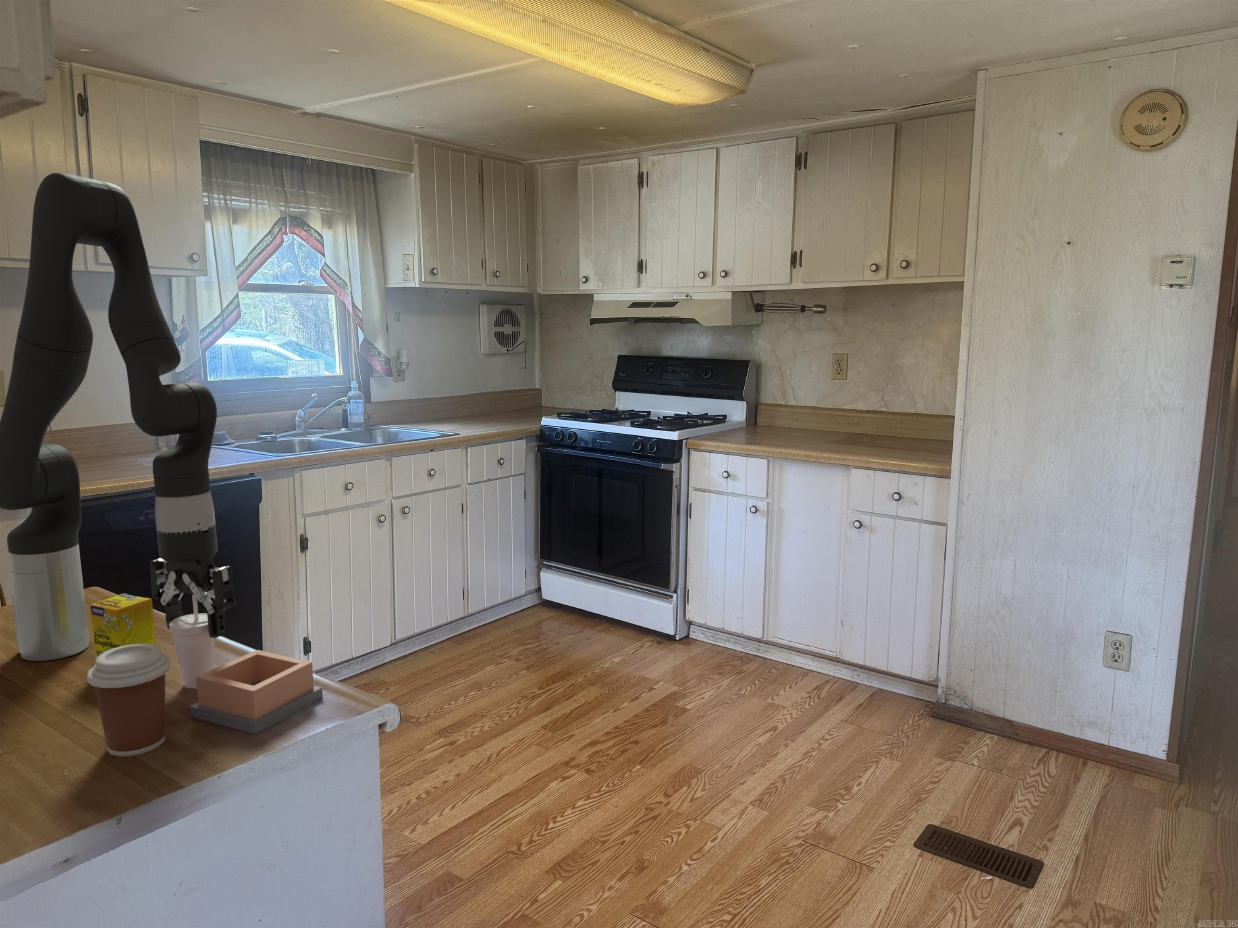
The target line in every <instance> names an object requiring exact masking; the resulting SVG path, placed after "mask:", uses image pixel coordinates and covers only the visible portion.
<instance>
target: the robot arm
mask: <svg viewBox="0 0 1238 928" xmlns="http://www.w3.org/2000/svg"><path fill="white" fill-rule="evenodd" d="M78 244H80V245H85V246H86V245H87V246H95V247H102V249H103V250H104V252H105V253H106V255H107V257H108V258H109V260H110V263H111V265H112V268H113V273H114V276H113V277H114V278H113V279H114V280H113V286H112V290H111V294H110V299H109V302H108V313H107V317H108V318H107V319H108V323H109V328H110V332H111V334H112V336H113V339H114V341H115V345H117V348H118V350H119V353H120V355H121V358H122V360H123V363H124V364H125V368H126V369H125V370H126V375H127V383H128V389H129V391H128V393H129V403H130V412H131V416H132V419H133V421H134V423H135V424H136V426H137V427H138V428H139V429H140V430H141V431H142V432H144V433H145V434H146V435H148V436H151V437H155V438H157V437H168V436H174V435H175V436H176V435H178V438H177V440H176V443H175V445H174V447H172V448H170V449H168V450H166V451H164V452H161V453H159V454H157V455H155V456H154V458H153V460H152V475H153V476H152V477H153V483H154V494H155V495H154V497H155V498H154V499H155V500H154V501H155V505H154V517H155V524H156V525H155V526H156V527H155V528H156V535H157V545H158V556H159V558H156V559H153V560H151V561H150V562H149V570H150V572H149V573H150V587H151V598H152V600H160V603H161V604H162V605H163V606H164V614H165V623H166V628H167V629H168V630H169V623H170V622H171V621H172V620H174V619H176V618H179V617H182V616H184V613H183V604H182V601H180V600H181V599H182V597H183V595H184V594H185V593H187V594H189V595H191V596H192V595H195V597H196V599H197V602H201V603H202V605H203V606H204V607H205V609H206V611H207V613H206V614H207V617H208V628H209V636H210V637H211V638H215V639H216V638H217V639H218V638H219V637H222V636H224V635H225V634H226V630H227V623H226V610H227V609H231V608H233V607H235V606H237V600H236V591H235V584H234V577H233V569H232V567H231V566H230V565H226V566H223V567H222V566H221V567H216V565H215V563H214V556H215V554H217V552H218V549H219V548H218V537H217V528H216V527H217V526H216V517H215V516H216V515H215V507H214V506H215V505H214V501H213V497H212V492H211V482H210V480H211V479H210V473H209V471H210V470H209V461H210V460H209V459H210V455H211V451H212V444H213V439H214V435H215V434H214V433H215V429H216V426H217V425H216V424H217V419H218V418H217V417H218V408H217V403H216V400H215V397H214V396H213V394H212V391H210V390H209V388H207V386H205V385H204V384H202V383H200V382H182V383H171V384H169V383H167V384H163V382H162V381H161V378H160V377H161V376H163V375H166V374H169V373H171V372H173V371H175V370H176V368H178V366H180V364H181V360H182V359H181V358H182V357H181V353H180V349H179V347H178V345H177V343H176V340H175V338H174V336H173V334H172V331H171V329H170V327H169V326H170V325H168V323H167V320H166V317H165V315H164V314H163V311H162V308H161V305H160V303H159V299H158V296H157V295H156V291H155V288H154V282H153V279H152V275H151V271H150V266H149V261H148V257H147V253H146V249H145V245H144V241H143V238H142V233H141V228H140V224H139V221H138V218H137V214H136V211H135V209H134V206H133V204H132V202H131V199H130V198H129V196H128V194H127V193H126V192H125V190H124V189H122V188H121V187H119V186H118V185H116V184H114V183H111V182H107V181H103V180H98V179H94V178H88V177H84V176H80V175H75V174H70V173H64V172H52V173H49V174H48V175H46V176H45V177H44V178H43V179H42V180H41V182H40V184H39V187H38V188H37V190H36V194H35V200H34V204H33V211H32V223H31V239H30V255H29V265H28V266H29V267H28V274H27V283H26V289H25V294H24V302H23V305H22V306H23V307H22V312H21V316H20V322H19V325H18V330H17V333H16V340H15V346H14V349H13V350H14V351H13V359H12V365H11V372H10V378H9V382H8V386H7V392H6V397H5V401H4V406H3V410H2V414H1V417H0V509H2V510H7V511H17V510H19V511H20V510H25V509H30V508H31V511H30V513H29V515H28V516H27V517H26V518H25V519H24V521H23V522H21V523H20V524H19V525H18V526H16V527H14V528H13V529H12V530H10V531H9V533H8V534H7V537H6V543H7V551H8V558H9V559H8V560H9V567H10V573H11V584H12V590H13V591H12V592H13V595H12V596H11V603H12V609H13V610H12V611H13V618H14V626H15V634H16V635H15V636H16V643H17V652H18V653H20V656H21V658H22V659H23V660H25V661H32V662H42V661H52V660H57V659H58V660H59V659H62V658H66V657H70V656H73V655H76V654H78V653H80V652H82V651H84V650H86V649H87V648H88V647H89V645H90V640H89V639H90V638H89V630H88V621H87V612H86V611H87V610H86V608H87V607H86V601H85V593H84V592H85V591H84V581H83V573H82V565H81V564H82V563H81V556H80V555H81V553H80V545H79V532H80V529H81V525H82V505H81V504H82V503H81V483H80V482H81V481H80V473H79V468H78V465H77V463H76V460H75V457H74V456H73V454H71V452H70V451H69V450H68V449H67V448H65V446H62V445H60V444H56V443H46V444H45V443H44V444H43V442H44V441H43V440H44V438H45V435H46V432H47V431H48V428H49V426H50V425H51V423H52V422H53V420H54V419H55V418H56V416H57V415H58V414H59V413H60V412H61V410H62V409H63V408H64V407H65V406H66V404H67V403H68V402H69V401H70V400H71V399H72V397H74V395H75V394H76V392H77V391H78V390H79V387H80V386H81V385H82V383H83V382H84V379H85V377H86V375H87V371H88V367H89V363H90V359H91V353H92V348H93V343H94V332H93V328H92V324H91V322H90V319H89V317H88V315H87V311H86V310H85V308H84V306H83V304H82V302H81V299H80V297H79V295H78V292H77V290H76V288H75V285H74V280H73V266H74V265H73V263H74V253H75V250H76V247H77V245H78ZM161 583H162V586H163V587H162V588H161ZM209 588H210V590H209ZM208 590H209V591H208ZM224 594H225V595H226V599H225V596H224ZM211 598H212V599H214V601H215V603H213V601H212V599H211Z"/></svg>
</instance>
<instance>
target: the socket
mask: <svg viewBox="0 0 1238 928" xmlns="http://www.w3.org/2000/svg"><path fill="white" fill-rule="evenodd" d="M313 669H314V668H313V662H312V661H309V660H305V659H301V658H298V657H297V658H296V657H291V656H288V655H287V656H286V655H282V654H278V653H272V652H269V651H264V650H261V649H255V650H254V651H252V652H250V653H247V654H245V655H243V656H239V657H238V658H236V659H234V660H231V661H229V662H227V663H224V664H222V665H220V666H218V667H216V668H213V670H211V671H208V672H206V673H204V674H202V675H199V676H197V677H196V681H197V688H196V690H197V691H196V692H197V702H195V703H193V704H190V705H188V709H189V716H190V717H192V718H195V719H197V720H198V719H199V720H201V719H202V721H206V722H209V723H212V724H216V725H221V726H224V727H227V728H231V729H235V730H239V731H241V730H242V732H245V733H249V734H252V735H258V734H260V733H261V732H263V731H265V730H266V729H269V728H271V727H272V726H274V725H275V724H278V723H279V722H281V721H283V720H285V719H287V718H288V717H290V716H292V715H294V714H296V713H298V712H299V711H301V710H302V709H304V708H306V707H308V706H310V705H312V704H313V703H315V702H317V701H319V700H320V699H323V695H324V694H323V687H321V686H317V685H315V684H314V671H313Z"/></svg>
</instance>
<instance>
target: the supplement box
mask: <svg viewBox="0 0 1238 928" xmlns="http://www.w3.org/2000/svg"><path fill="white" fill-rule="evenodd" d="M153 606H154V605H153V598H152V597H143V596H142V597H141V596H137V595H132V594H128V593H126V592H125V593H121V594H118V595H115V596H112V597H109V598H106V599H103V600H99V601H96V602H94V603H91V604H90V606H89V608H90V618H91V619H90V620H91V626H92V627H91V628H92V629H91V630H92V638H93V648H94V649H93V650H94V655H95V656H94V657H95V660H96V658H97V657H98V656H99V655H101V654H102V653H103V652H106V651H108V650H111V649H113V648H117V647H121V646H125V645H132V644H150V645H155V646H157V644H156V642H157V641H156V634H155V622H154V621H155V620H154V607H153Z"/></svg>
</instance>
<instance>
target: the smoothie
mask: <svg viewBox="0 0 1238 928" xmlns="http://www.w3.org/2000/svg"><path fill="white" fill-rule="evenodd" d="M191 596H192V606H193V614H192V613H190V614H186V615H183V616H182V617H179V618H176V619H174V620H172V621H171V622H170V623H169V629H168V631H169V633H171V634H172V637H173V644H174V646H175V651H176V655H177V659H178V665H179V669H180V672H181V677H182V680H183V685H184V688H187V689H197V681H196V677H197V676H199V675H202V674H204V673H206V672H208V671H211V670H213V669H214V658H215V657H214V656H215V639H216V638H211V637H210V636H209V628H208V617H207V614H208V613H206V612H205V613H204V612H203V613H199V607H198V600H197V599H196V597H195V595H191Z"/></svg>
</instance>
